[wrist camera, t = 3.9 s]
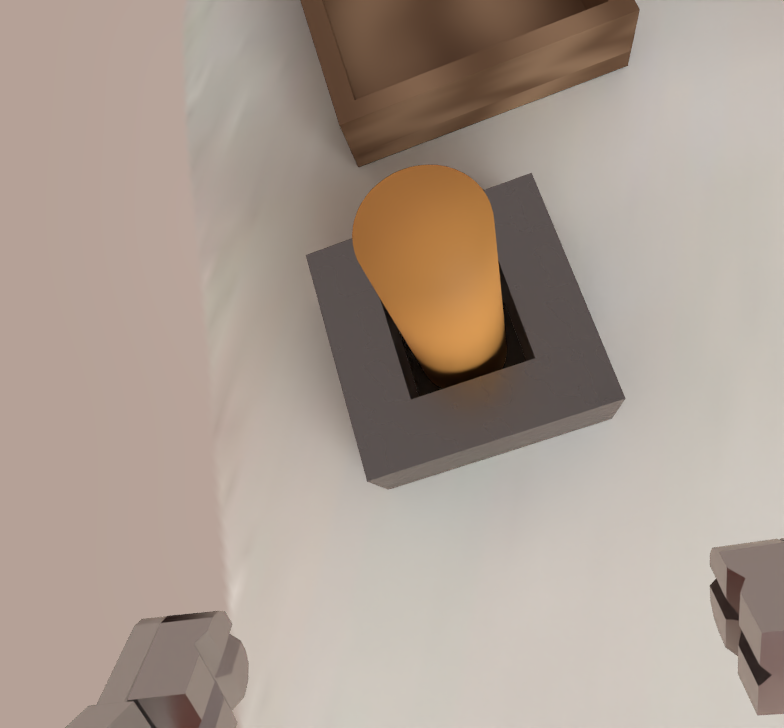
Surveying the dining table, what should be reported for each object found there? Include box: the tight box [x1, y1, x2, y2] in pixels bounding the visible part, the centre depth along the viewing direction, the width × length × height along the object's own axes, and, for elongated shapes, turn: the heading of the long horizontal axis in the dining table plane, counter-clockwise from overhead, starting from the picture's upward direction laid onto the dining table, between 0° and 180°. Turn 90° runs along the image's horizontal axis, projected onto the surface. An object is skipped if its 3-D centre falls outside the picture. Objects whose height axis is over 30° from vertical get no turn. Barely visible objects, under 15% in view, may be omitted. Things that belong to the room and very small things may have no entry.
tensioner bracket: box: [306, 173, 625, 489], centre depth 27 cm, size 10×10×4 cm
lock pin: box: [352, 165, 507, 389], centre depth 24 cm, size 4×4×12 cm
